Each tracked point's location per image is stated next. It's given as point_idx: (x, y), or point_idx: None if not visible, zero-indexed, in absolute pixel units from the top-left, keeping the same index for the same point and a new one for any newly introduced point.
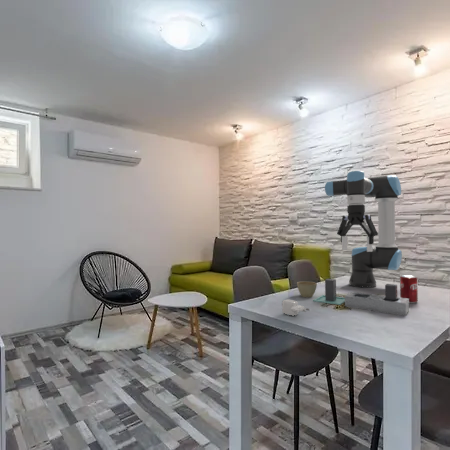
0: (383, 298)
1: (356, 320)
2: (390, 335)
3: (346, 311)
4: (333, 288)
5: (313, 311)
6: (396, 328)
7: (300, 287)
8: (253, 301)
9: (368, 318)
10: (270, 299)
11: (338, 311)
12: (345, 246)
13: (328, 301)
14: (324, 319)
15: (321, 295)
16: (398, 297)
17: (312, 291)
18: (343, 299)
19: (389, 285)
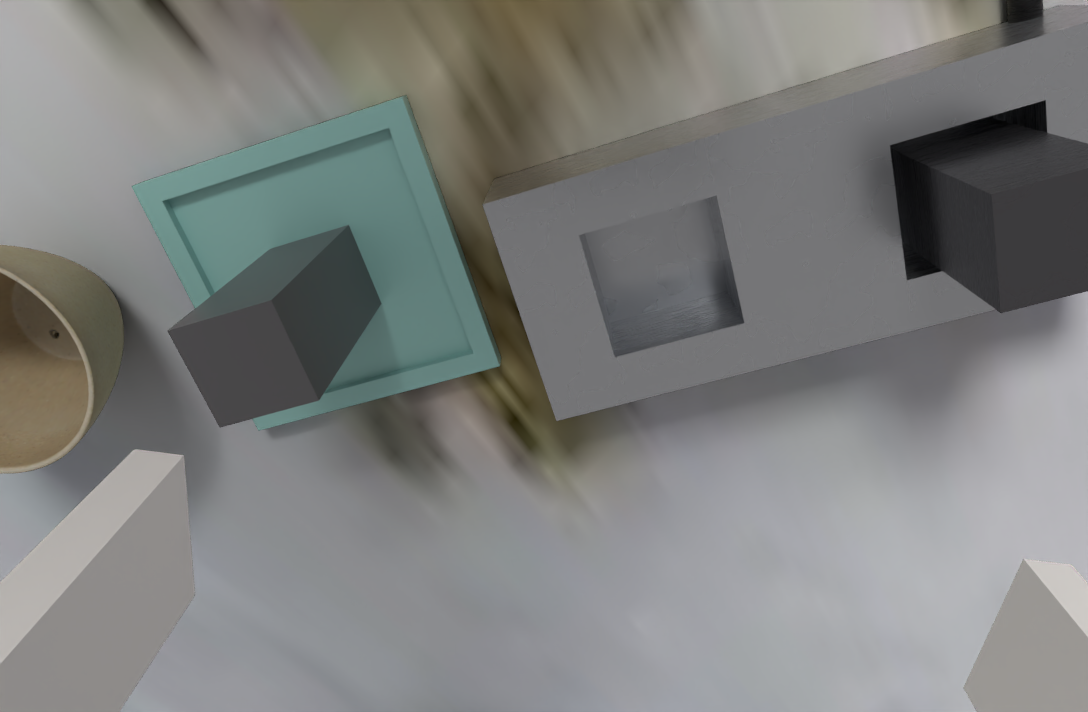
0: (895, 232)
1: (804, 595)
2: None
3: (639, 468)
4: (346, 357)
5: (479, 622)
6: None
7: (23, 449)
8: None
9: (847, 508)
10: None
11: (597, 508)
12: (139, 585)
13: None
14: (644, 700)
15: (147, 215)
16: (1021, 47)
17: (120, 354)
18: (381, 152)
19: (1051, 281)
